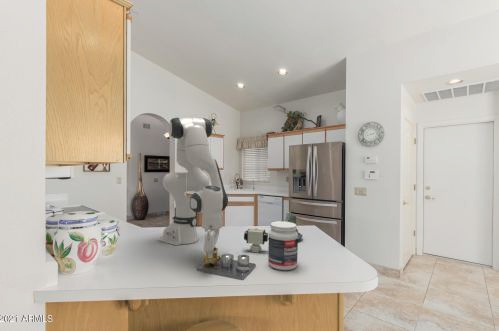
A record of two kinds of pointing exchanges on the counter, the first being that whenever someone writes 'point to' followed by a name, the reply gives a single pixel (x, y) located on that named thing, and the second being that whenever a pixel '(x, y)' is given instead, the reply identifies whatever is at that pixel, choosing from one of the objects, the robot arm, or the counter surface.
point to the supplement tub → (283, 245)
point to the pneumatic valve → (255, 238)
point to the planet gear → (214, 258)
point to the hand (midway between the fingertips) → (211, 254)
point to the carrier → (229, 266)
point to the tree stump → (292, 219)
